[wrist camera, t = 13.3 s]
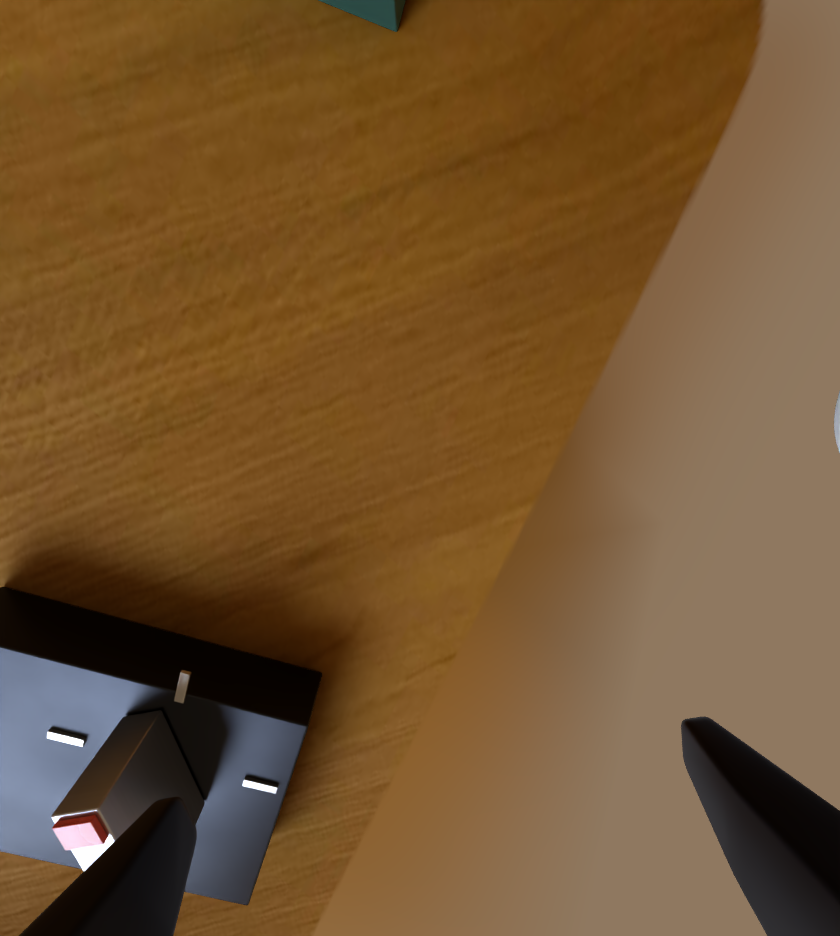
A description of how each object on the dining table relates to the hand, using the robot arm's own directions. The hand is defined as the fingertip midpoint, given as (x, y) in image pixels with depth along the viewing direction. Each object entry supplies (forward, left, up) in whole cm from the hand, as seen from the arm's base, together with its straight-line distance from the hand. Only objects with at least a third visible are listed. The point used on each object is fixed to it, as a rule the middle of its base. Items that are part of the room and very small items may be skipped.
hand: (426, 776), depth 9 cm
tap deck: (+9, +14, -12) cm, 20 cm away
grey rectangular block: (+7, +12, -9) cm, 16 cm away
